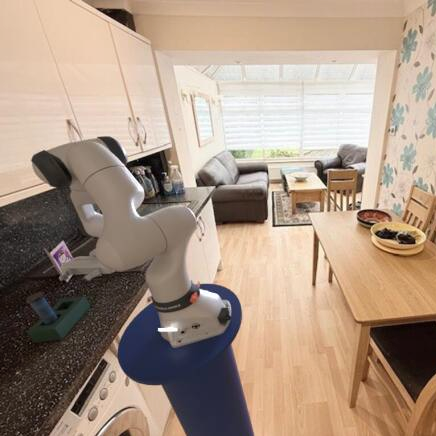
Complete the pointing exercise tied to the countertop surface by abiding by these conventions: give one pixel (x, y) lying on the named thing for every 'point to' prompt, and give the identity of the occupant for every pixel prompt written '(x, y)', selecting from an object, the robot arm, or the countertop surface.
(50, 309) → the handle
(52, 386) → the countertop surface
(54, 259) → the greeting card
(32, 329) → the holder
